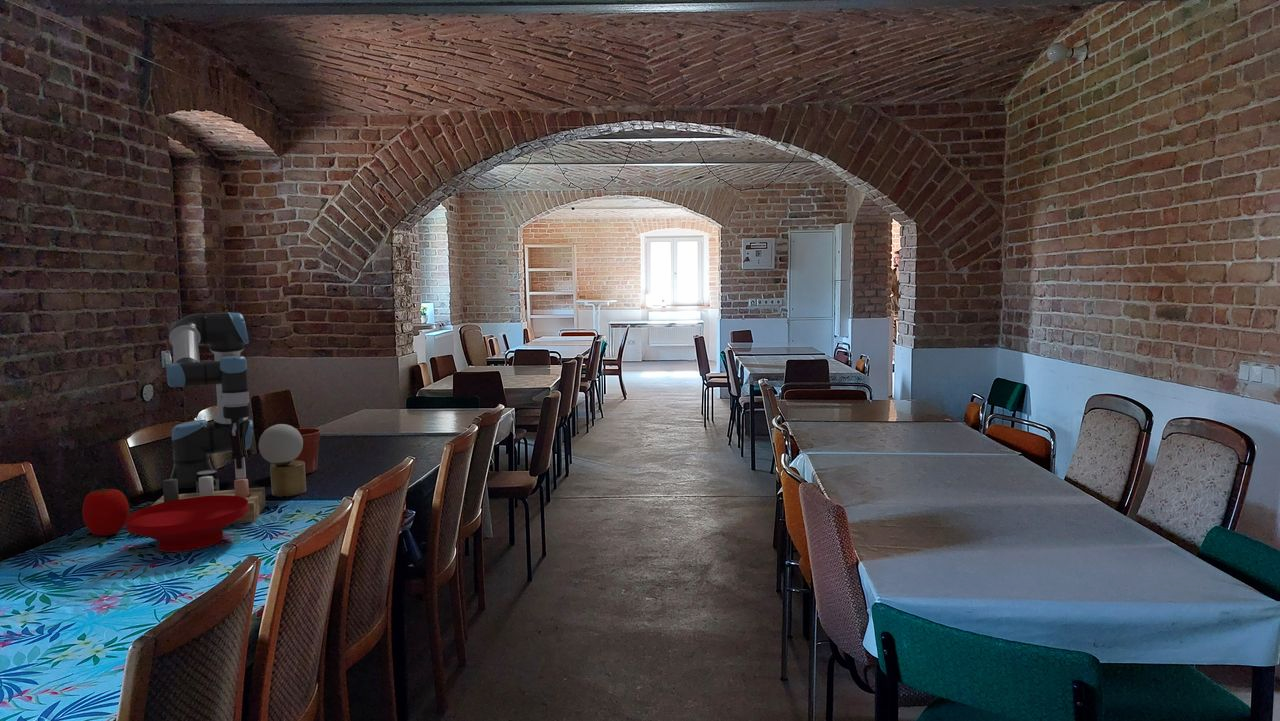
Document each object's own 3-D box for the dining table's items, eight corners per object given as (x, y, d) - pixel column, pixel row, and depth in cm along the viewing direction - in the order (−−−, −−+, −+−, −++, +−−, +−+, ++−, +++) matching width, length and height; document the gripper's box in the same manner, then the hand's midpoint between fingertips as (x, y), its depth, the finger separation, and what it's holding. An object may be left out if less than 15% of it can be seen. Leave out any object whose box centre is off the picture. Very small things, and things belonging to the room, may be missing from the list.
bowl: (273, 531, 230) (271, 499, 229) (183, 567, 201) (181, 529, 200) (196, 523, 240) (194, 491, 239) (100, 555, 211) (97, 519, 210)
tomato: (73, 537, 227) (69, 490, 226) (111, 525, 238) (107, 481, 237) (103, 541, 223) (99, 493, 222) (140, 529, 234) (137, 484, 232)
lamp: (284, 501, 263) (280, 428, 261) (252, 498, 268) (247, 427, 265) (316, 490, 277) (312, 421, 275) (285, 487, 282) (281, 419, 280)
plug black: (166, 507, 243) (164, 479, 242) (181, 506, 244) (178, 478, 244) (162, 510, 239) (160, 482, 239) (177, 509, 241) (175, 481, 240)
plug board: (164, 513, 250) (162, 495, 250) (265, 504, 259) (264, 487, 259) (144, 531, 231) (143, 512, 231) (254, 521, 240) (253, 502, 239)
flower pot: (312, 476, 298) (310, 435, 296) (270, 477, 298) (267, 436, 296) (330, 466, 314) (327, 427, 313) (289, 467, 314) (287, 428, 313)
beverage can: (210, 510, 253) (207, 474, 252) (193, 509, 255) (190, 473, 254) (224, 504, 260) (222, 469, 259) (208, 503, 261) (205, 469, 260)
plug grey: (202, 504, 246) (200, 476, 245) (216, 503, 247) (214, 475, 246) (199, 507, 242) (197, 479, 241) (213, 506, 244) (211, 478, 243)
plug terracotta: (237, 506, 249) (235, 479, 248) (250, 505, 250) (249, 478, 250) (234, 510, 245) (232, 482, 245) (248, 508, 247) (246, 481, 246)
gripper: (227, 402, 250) (232, 474, 252) (218, 408, 237) (223, 483, 240) (252, 401, 252) (257, 472, 254) (245, 407, 240) (249, 481, 242)
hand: (240, 477), depth 247 cm, fingers closed
